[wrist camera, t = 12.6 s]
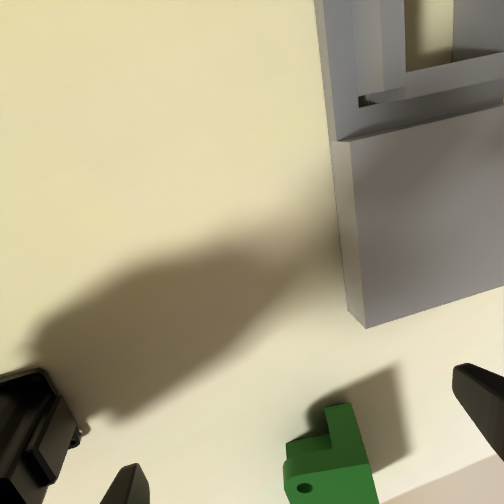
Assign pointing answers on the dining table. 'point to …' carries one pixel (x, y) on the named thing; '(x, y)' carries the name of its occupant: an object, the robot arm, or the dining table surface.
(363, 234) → the socket block
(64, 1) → the dining table surface
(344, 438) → the clamp
